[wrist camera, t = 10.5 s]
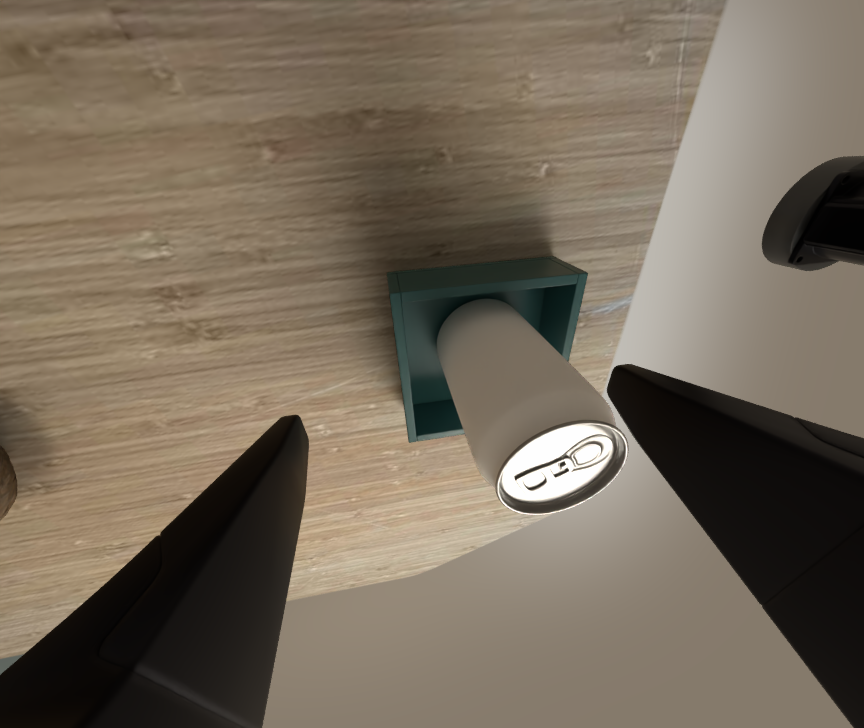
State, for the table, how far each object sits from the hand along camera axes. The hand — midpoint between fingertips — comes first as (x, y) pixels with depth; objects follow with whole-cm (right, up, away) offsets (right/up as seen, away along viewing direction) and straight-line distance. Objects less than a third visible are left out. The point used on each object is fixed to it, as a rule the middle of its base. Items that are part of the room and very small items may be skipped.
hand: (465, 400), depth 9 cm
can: (+2, +3, +14) cm, 15 cm away
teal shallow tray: (+2, +3, +14) cm, 15 cm away
